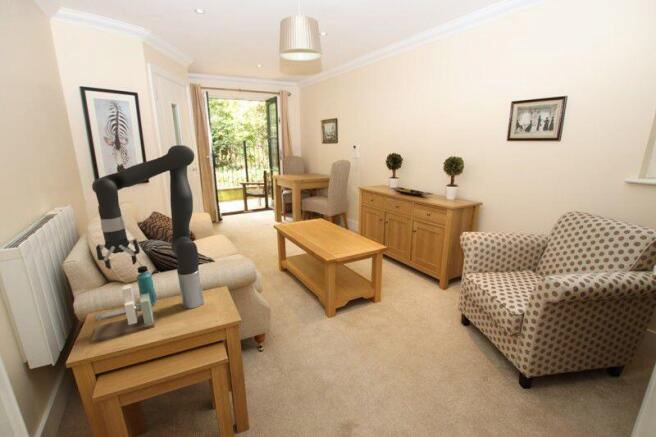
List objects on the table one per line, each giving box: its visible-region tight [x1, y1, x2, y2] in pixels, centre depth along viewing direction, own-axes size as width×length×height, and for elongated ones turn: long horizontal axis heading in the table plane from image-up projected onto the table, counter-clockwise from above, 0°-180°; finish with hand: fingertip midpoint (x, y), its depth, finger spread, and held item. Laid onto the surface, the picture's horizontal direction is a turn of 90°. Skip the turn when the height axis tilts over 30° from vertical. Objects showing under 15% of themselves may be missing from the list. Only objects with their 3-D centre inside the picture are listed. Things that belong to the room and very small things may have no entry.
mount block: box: [139, 293, 154, 324], centre depth 135 cm, size 3×8×10 cm, turn 27°
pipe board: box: [91, 311, 156, 344], centre depth 133 cm, size 22×11×2 cm, turn 117°
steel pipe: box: [95, 303, 142, 321], centre depth 131 cm, size 18×3×3 cm, turn 117°
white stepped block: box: [121, 284, 140, 325], centre depth 132 cm, size 3×9×15 cm, turn 27°
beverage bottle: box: [136, 265, 157, 305], centre depth 149 cm, size 6×7×20 cm
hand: (122, 266), depth 128 cm, fingers open, 8 cm apart
